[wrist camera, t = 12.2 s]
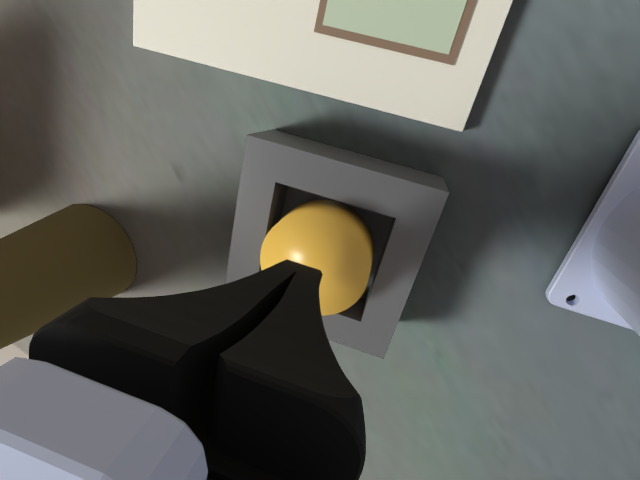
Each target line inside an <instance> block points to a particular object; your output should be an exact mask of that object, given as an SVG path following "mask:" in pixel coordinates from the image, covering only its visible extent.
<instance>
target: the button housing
mask: <svg viewBox="0 0 640 480" xmlns="http://www.w3.org/2000/svg"><path fill="white" fill-rule="evenodd" d="M448 195H449V190H448V188H447V186H446V183H445V181H444V178H443V177H441V176H438V175H434V174H431V173H427V172H424V171H420V170H416V169H413V168H409V167H406V166H402V165H399V164H395V163H391V162H388V161H384V160H381V159H377V158H374V157H370V156H366V155H363V154H359V153H356V152H352V151H349V150H345V149H341V148H338V147H334V146H331V145H327V144H324V143H320V142H317V141H313V140H309V139H306V138H302V137H299V136H295V135H292V134H288V133H284V132H281V131H277V130H274V129H273V130H268V131H263V132H258V133H253V134H248V135H246V141H245V148H244V155H243V162H242V169H241V176H240V183H239V190H238V197H237V204H236V211H235V218H234V225H233V231H232V238H231V245H230V252H229V259H228V266H227V273H226V280H225V284H227V283H230V282H233V281H236V280H239V279H241V278H244V277H247V276H250V275H252V274H255V273H257V272H259V271H262V270H261V264H260V253H261V247H262V244H263V241H264V239H265V237H266V235H267V234H268V232H269V231H270V230H271V229H272V227H273V226H275V225H276V224H277V223H278V222H279V221H280V220H281V219H282V218H283V217H284V216H286V215H287V214H288V213H289V212H290V211H291V210H292V209H293V208H295V207H297V206H298V205H300V204H302V203H305V202H308V201H312V200H331V201H335V202H338V203H341V204H344V205H346V206H347V207H349V208H351V209H352V210H354V211H355V212H356V213H357V214H358V215H359V216H360V217H361V218H362V219H363V220H364V221H365V223H366V224H367V226H368V228H369V230H370V232H371V234H372V238H373V242H374V258H373V262H372V267H371V271H370V275H369V279H368V283H367V286H366V288H365V291H364V292H363V294H362V296H361V297H360V298H359V299H358V301H357V302H356V303H355V304H353V305H352V306H351V307H349V308H348V309H346V310H344V311H342V312H339V313H336V314H332V315H326V316H322V320H323V325H324V329H325V332H326V335H327V338H328V340H331V341H334V342H337V343H339V344H342V345H345V346H348V347H351V348H354V349H357V350H359V351H362V352H365V353H368V354H371V355H374V356H376V357H379V358H382V359H384V356H385V354H386V351H387V349H388V346H389V344H390V341H391V339H392V336H393V334H394V331H395V329H396V326H397V324H398V321H399V319H400V316H401V314H402V311H403V309H404V306H405V304H406V301H407V299H408V296H409V293H410V291H411V288H412V286H413V283H414V281H415V278H416V276H417V273H418V271H419V268H420V266H421V263H422V261H423V258H424V256H425V253H426V251H427V248H428V246H429V243H430V241H431V238H432V235H433V233H434V230H435V228H436V225H437V223H438V220H439V218H440V215H441V213H442V210H443V208H444V205H445V203H446V200H447V198H448Z"/></svg>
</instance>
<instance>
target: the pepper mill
mask: <svg viewBox="0 0 640 480" xmlns="http://www.w3.org/2000/svg"><path fill="white" fill-rule="evenodd" d="M136 268H137V259H136V255H135V252H134V248H133V245H132V243H131V241H130V239H129V238H128V236H127V234H126V232H125V231H124V229H123V228H122V227H121V226H120V225H119V224H118V223H117V222H116V221H115V220H114V219H113V218H112V217H111V216H109V215H108V214H106V213H105V212H103V211H102V210H100V209H98V208H95V207H92V206H89V205H86V204H72V205H70V206H68V207H66V208H64V209H62V210H60V211H57V212H55V213H53V214H51V215H49V216H47V217H45V218H43V219H41V220H39V221H37V222H34V223H32V224H30V225H28V226H26V227H24V228H22V229H20V230H18V231H16V232H14V233H11V234H9V235H7V236H5V237H3V238H1V239H0V349H1V348H3V347H5V346H8V345H10V344H12V343H14V342H16V341H18V340H21V339H23V338H25V337H27V336H29V335H31V334H33V333H36V332H37V331H38V330H39V329H40V328H41V327H42V326H44V325H45V324H47V323H49V322H50V321H52V320H54V319H55V318H57V317H58V316H60V315H62V314H63V313H65V312H67V311H68V310H70V309H72V308H73V307H75V306H76V305H78V304H80V303H81V302H83V301H85V300H86V299H88V298H90V297H98V298H111V297H113V296H115V295H117V294H119V293H122V292H124V291H125V290H126V289H127V288H128V287H129V286H130V285H131V284H132V283H133V280H134V278H135V275H136Z"/></svg>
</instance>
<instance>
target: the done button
mask: <svg viewBox="0 0 640 480" xmlns="http://www.w3.org/2000/svg"><path fill="white" fill-rule="evenodd" d="M373 258H374V242H373V238H372V234H371V232H370V230H369V228H368V226H367V224H366V223H365V221H364V220H363V219H362V218H361V217H360V216H359V215H358V214H357V213H356V212H355V211H354V210H352V209H351V208H349V207H347V206H346V205H344V204H341V203H338V202H335V201H331V200H312V201H308V202H305V203H302V204H300V205H298V206H297V207H295V208H293V209H292V210H291V211H290V212H289V213H288V214H287V215H286V216H284V217H283V218H282V219H281V220H280V221H279V222H278V223H277V224H276V225H275V226H273V227H272V229H271V230H270V231H269V232H268V234H267V235H266V237H265V239H264V241H263V244H262V247H261V253H260V264H261V270H264V269H266V268H269V267H271V266H273V265H275V264H277V263H279V262H282V261H284V260H287V259H288V260H291V261H294V262H297V263H300V264H303V265H306V266H309V267H312V268H315V269H318V270H321V272H322V274H323V275H322V279H321V282H320V286H319V299H320V309H321V315H322V316H326V315H332V314H336V313H339V312H342V311H344V310H346V309H348V308H349V307H351V306H352V305H353V304H355V303H356V302H357V301H358V299H359V298H360V297H361V296H362V294H363V292H364V291H365V288H366V286H367V283H368V279H369V275H370V271H371V267H372V262H373Z"/></svg>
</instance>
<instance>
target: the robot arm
mask: <svg viewBox="0 0 640 480" xmlns="http://www.w3.org/2000/svg"><path fill="white" fill-rule="evenodd" d="M322 275H323V274H322V272H321V270H318V269H315V268H312V267H309V266H306V265H303V264H300V263H297V262H294V261H291V260H288V259H287V260H284V261H282V262H279V263H277V264H275V265H273V266H271V267H269V268H266V269H264V270H262V271H259V272H257V273H255V274H252V275H250V276H247V277H244V278H241V279H239V280H236V281H233V282H230V283H227V284H224V285H220V286H217V287H212V288H208V289H204V290H199V291H193V292H187V293H181V294H175V295H166V296H155V297H138V298H98V297H90V298H88V299H86V300H85V301H83V302H81V303H80V304H78V305H76V306H75V307H73V308H72V309H70V310H68V311H67V312H65V313H63V314H62V315H60V316H58V317H57V318H55V319H54V320H52V321H50V322H49V323H47V324H45V325H44V326H42V327H41V328H40V329H39V330H38V331H37V332H36V333H35V334H34V335H33V337H32V340H31V342H30V345H29V359H26V358H17V357H15V358H14V359H12V360H10V361H8V362H7V363H5V364H3V365H2V366H0V480H359V477H360V475H361V473H362V470H363V466H364V462H365V454H366V435H365V422H364V413H363V406H362V400H361V397H360V395H359V394H358V393H357V391H356V390H355V388H354V387H353V386H352V384H351V383H350V382H349V380H348V379H347V378H346V376H345V375H344V373H343V371H342V369H341V368H340V366H339V364H338V362H337V360H336V357H335V355H334V353H333V351H332V349H331V347H330V344H329V341H328V338H327V335H326V332H325V329H324V325H323V320H322V315H321V309H320V299H319V286H320V282H321V279H322ZM545 294H546V297H547V299H548V300H549V301H550V303H551V304H553V305H555V306H559V307H562V308H565V309H568V310H571V311H574V312H578V313H581V314H584V315H587V316H590V317H594V318H597V319H600V320H603V321H606V322H610V323H613V324H616V325H619V326H622V327H626V328H629V329H632V330H634V331H635V332H636V333H637V334H638V335H639V336H640V130H639V131H638V133H637V134H636V136H635V138H634V139H633V141H632V143H631V145H630V146H629V148H628V150H627V151H626V153H625V155H624V157H623V158H622V160H621V162H620V164H619V165H618V167H617V169H616V170H615V172H614V174H613V176H612V177H611V179H610V181H609V183H608V184H607V186H606V188H605V189H604V191H603V193H602V195H601V196H600V198H599V200H598V201H597V203H596V205H595V207H594V208H593V210H592V212H591V214H590V215H589V217H588V219H587V220H586V222H585V224H584V226H583V227H582V229H581V231H580V233H579V234H578V236H577V238H576V239H575V241H574V243H573V245H572V246H571V248H570V250H569V252H568V253H567V255H566V257H565V258H564V260H563V262H562V264H561V265H560V267H559V269H558V271H557V272H556V274H555V276H554V277H553V279H552V281H551V283H550V284H549V286H548V288H547V290H546V293H545ZM571 295H576V297H575V299H573V300H571V301H566V298H567V297H568V296H571Z"/></svg>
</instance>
